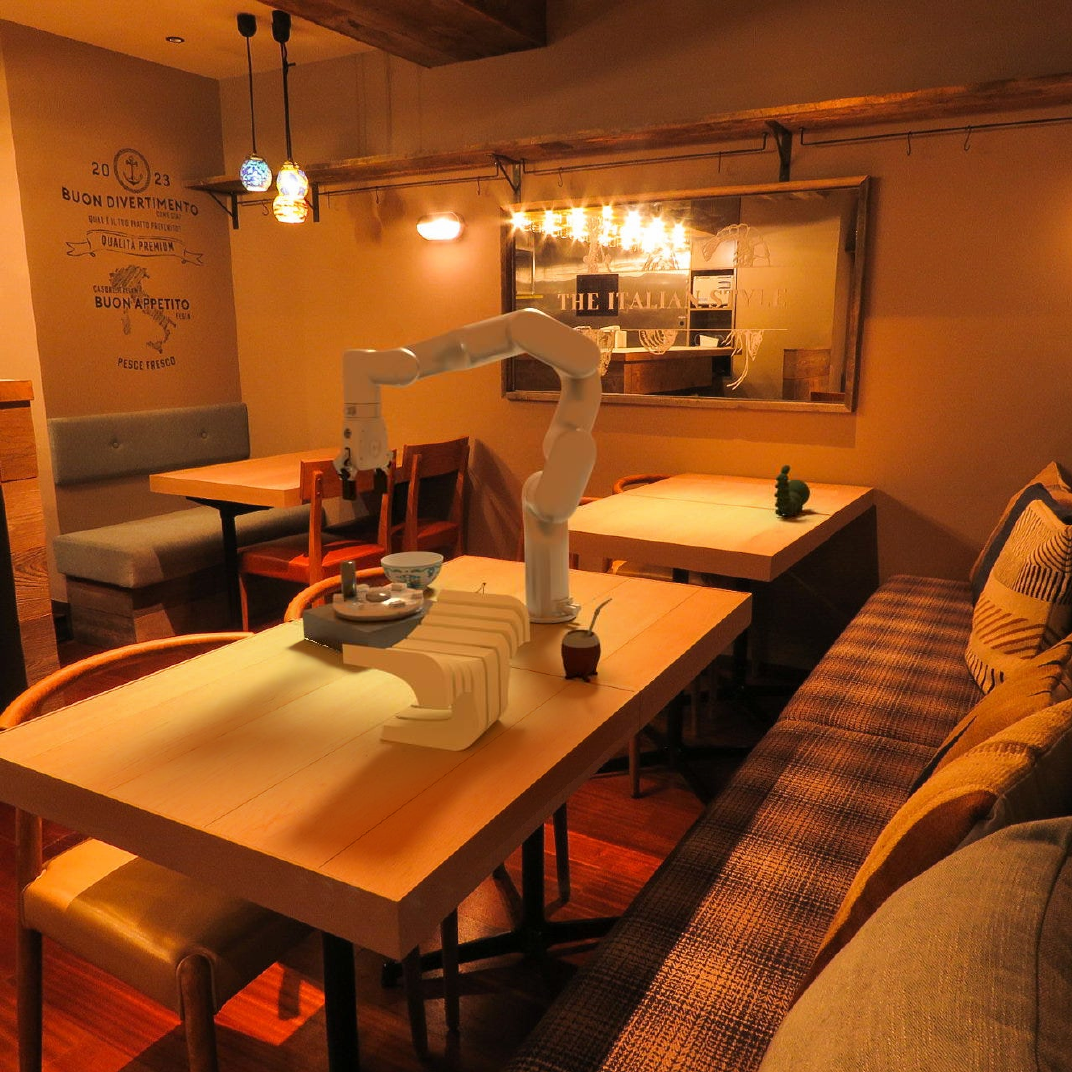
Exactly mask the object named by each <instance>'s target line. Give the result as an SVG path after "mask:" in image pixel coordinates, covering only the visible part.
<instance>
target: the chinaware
mask: <svg viewBox="0 0 1072 1072" xmlns="http://www.w3.org/2000/svg"><path fill="white" fill-rule="evenodd" d="M443 562H444V556H443V555H442V554H440V553H436V552H430V551H407V552H406V551H405V552H399V553H393V554H389V555H386V556H384V557H383V558H380V564H381V567H382V570H383V572H384V574H385V576H386V577H387V579H388V580H389V581H390V583H392V584H394V583H396V582H397V583H407V588H410V589H414V590H423V592H425V591H427V590H428V586H429V585H431V584H432V583H433V582H434V581H435V580H436V579H437V577H438V576H439V574H440V572H441V569H442V567H443Z"/></svg>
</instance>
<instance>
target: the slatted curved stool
mask: <svg viewBox="0 0 1072 1072" xmlns="http://www.w3.org/2000/svg"><path fill="white" fill-rule="evenodd" d="M436 602H437V603H435V602H434V603H433V605H432V607H431V608H430V610H429V615H428V614H426V616H425V617H424V618H423V620H422V621H421V625H418V626H417V627H416V628H415V629H414V630H413V631H412V632H411V633H410V634H409V635H408V636H407V639H403V640H402V641H400V642H399V643H397V644H395V645H394V646H392V648H386V649H380V648H372V647H363V646H355V645H347V644H342V647H343V653H342V658H343V659H342V660H343V662H342V663H343V664H347V665H354V666H359V667H364V668H369V669H373V670H378V671H380V672H381V671H382V672H385V673H387V674H390V675H393V676H395V677H397V678H399V679H400V680H403V681H404V682H405V683H406V684H407V685H408V686H409V687H410V688H411V690H412V691H413V693H414V696H415V697H416V700H415V701H413V702H412V703H411V704H410V706H407V707H405V708H404V709H402V710H401V711H400V712H399V713H397V714H396V715H395V717H392V718H391V719H389V720H388V721H387V722H385V723H384V724H383V726H382V733H381V737H380V740H382V741H383V740H384V741H391V742H397V743H402V744H408V745H409V744H410V745H415V746H421V747H429V748H434V749H438V750H439V749H440V750H447V751H453V752H460V751H463V750H465V749H467V748H469V747H470V746H471V745H472V744H473V743H475V741H477V740H478V739H480V737H481V736H482V735H483V734H484V733H485V732H486V731H487V730H488V729H489V728H490V727H492V726H493V724H494V723H495V722H497V720H499V718H500V717H502V716H503V715H504V714H505V713H506V711H507V708H508V705H509V684H510V674H511V660H513V658H514V656H515V654H516V652H517V650H518V648H519V647H521V646H522V645H523V644H524V643H527V642H530V641H531V633H530V631H531V627H530V623H531V622H530V619H529V613H528V610H527V608H526V604H525V603H524V602H522V600H521V599H519V598H517V597H515V596H513V595H509V594H498V593H487V592H486V593H485V592H484V593H483V592H479V593H477V591H464V590H454V589H453V590H452V589H441V590H440V591H439V593H438V595H437V596H436Z"/></svg>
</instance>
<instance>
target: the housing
mask: <svg viewBox="0 0 1072 1072" xmlns="http://www.w3.org/2000/svg"><path fill="white" fill-rule="evenodd" d="M423 600H424V607H423V609H422V610H420V611H419V612H417V613H415V614H412V615H410V616H406V617H402V618H398V619H392V620H383V621H355V620H348V619H344V618H341V617H338V616H337V615H335V613H334V607H333V602H331V603H328V604H323V605H320V606H316V607H312V608H309V609H308V608H306V609H303V610H302V612H301V613H302V614H301V615H302V625H303V627H302V629H303V638H304V637H305V638H308V639H309V640H313V641H315V642H317V643H319V644H321V645H320V646H322V645H326V646H328V647H329V648H328V649H330V648H332V649H334V650H333V651H335V650H337V651H336V652H338V651H339V652H338V653H340V652H341V654H343V647H342V644H347V645H355V646H363V647H372V648H380V649H386V648H392V646H394V645H395V644H397V643H399V642H400V641H402V640H403V639H407V636H408V635H409V634H410V633H411V632H412V631H413V630H414V629H415V628H416V627H417V626H418V625H421V621H422V620H423V618H424V617H425V616H426V614H428V615H429V610H430V608H431V607H432V605H433V603H434V602H435V603H437V600H436V601H435V600H432V599H429V598H424V597H423ZM319 644H318V645H319ZM332 649H331V650H332Z"/></svg>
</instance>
